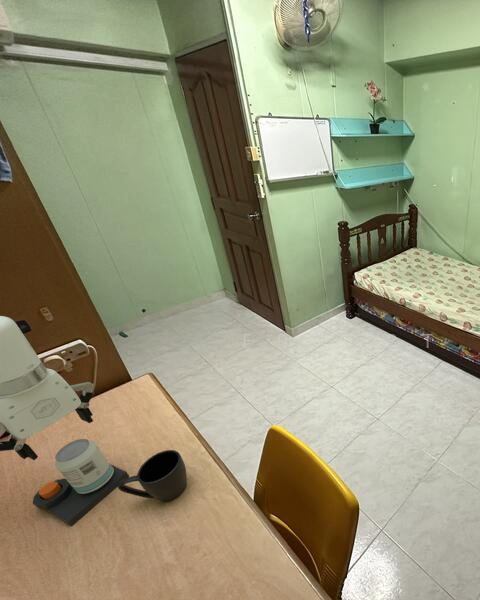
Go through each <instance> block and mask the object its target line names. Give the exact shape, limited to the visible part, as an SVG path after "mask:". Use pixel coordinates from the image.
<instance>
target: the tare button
mask: <svg viewBox="0 0 480 600" xmlns="http://www.w3.org/2000/svg"><path fill="white" fill-rule="evenodd" d="M60 490H61V486H60V485H59V484H58V483H57V482H55V480H53V481H50V482H48V483H46V484H44V485H43V486H42V487H41V488H39V490H38V491H39V494H40V495H41V496H42V497H43V498H44V499H49V498H51V497H53V496H54V495H56V494H57V493H58V492H59V491H60Z"/></svg>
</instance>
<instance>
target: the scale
mask: <svg viewBox="0 0 480 600" xmlns="http://www.w3.org/2000/svg"><path fill="white" fill-rule="evenodd" d="M111 466H112V467H113V469H114V472H113V475H112V477H111V478H110V479H109V480H108V481H107V482H106V483H105V484H104V485H103V486H102V487H100V488H99V489H97V490H95V491H92V492H90V493H85V494H80V493H78V492H76V490H75V489H74V488H73V487H72V486H71V484H70V483H69V482H68V481H67V480H66V479H65V478H59V479H55V480H54V481H55V482H57V483H58V484H59V485H60V486H61V490H60V491H59V492H58V493H57V494H56V495H54V496H53V497H51V498H49V499H44V498H43V497H42V496H41V495H40V494H39V490H38V491H37V492H36V493H35V495H34V496H33V498H32V504H33V506H35V507H36V508H38V509H39V510H44V511H45V512H47V513H49V514H50V515H52V516H54V518H55V517H56V518H57V519H59V520H60V521H62V522H64V523H65V524H67V525H68V526H70V527H73V526H74V525H75V524H77V523H78V522H79V521H80V520H81V519H82V518H84V516H86V515H87V514H88V513H89V512H90V511H91V510H93V509H94V508H95V507H96V506H98V505H99V504H100V503H101V502H102V501H103V500H104V499H106V497H108V496H110V494H111V493H113V491H115V489H117V488H118V483H119V482H120V481H121V480H123V479H125V478H128V477H130V475H129V473H128V472H127V471H125V470H123V469H122V468H120V467H118V466H115V465H113V464H111Z"/></svg>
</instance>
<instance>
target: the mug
mask: <svg viewBox="0 0 480 600" xmlns="http://www.w3.org/2000/svg"><path fill="white" fill-rule="evenodd" d="M186 467H187V466H186V464H185V461H184V460H183V457H182V455H181V454H180V452H178V451H177V450H175V449H166V450H163V451H160V452H157V453H156V454H153V455H152V456H150V457H149V458H147V459H146V460H145V461H144V462H143V463H142V464H141V466H140V468H139V469H138V471H137V474H136V475H132V476H129V477H128V478H125V479H123V480H121V481H120V482H119V483H118V487H117V488H118V490H119V491H121V492H123V493H126V494H129V495H132V496H137V497H140V498H144V499H157V500H160V501H161V502H165V503H167V502H168V503H169V502H173V501H174V500H176V499H177V498H179V497H180V496H181V495H182V494H183V493H184V492H185V490H186V488H187V468H186ZM133 482H138V483H139V484H140V486H141V487H142V489H143V490H141V489H139V488H134V487H132V486H129V485H126V484H129V483H133Z"/></svg>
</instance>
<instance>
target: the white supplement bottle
mask: <svg viewBox="0 0 480 600" xmlns="http://www.w3.org/2000/svg"><path fill="white" fill-rule="evenodd" d="M54 458H55V463H54V466H55V468H56V469H57V471H58V472H59V473H60V474H61V476H62V477H63V478H64V479H66V480H67V481H68V482H69V483H70V484H71V486H72V487H73V488H74V489H75V490H76V492H78V493H80V494H85V493H90V492H92V491H95V490H97V489H99V488H100V487H102V486H103V485H104V484H105V483H106V482H107V481H108V480H109V479H110V478H111V477H112V475H113V472H114V469H113V467H112V466H111V465H112V464H111V463H110V462H109V460H108V458H107V457H106V455H105V453H103V452H102V450H101V449H100V447H99V446H98V444H97V443H96V442H95V441H92V440H88V439H87V438H78V439H76V440H72V441H70V442H69V443H67V444H65V445H64V446H63V447H61V448H60V449H59V450H58V451H57V452H56V454H55V457H54Z"/></svg>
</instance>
